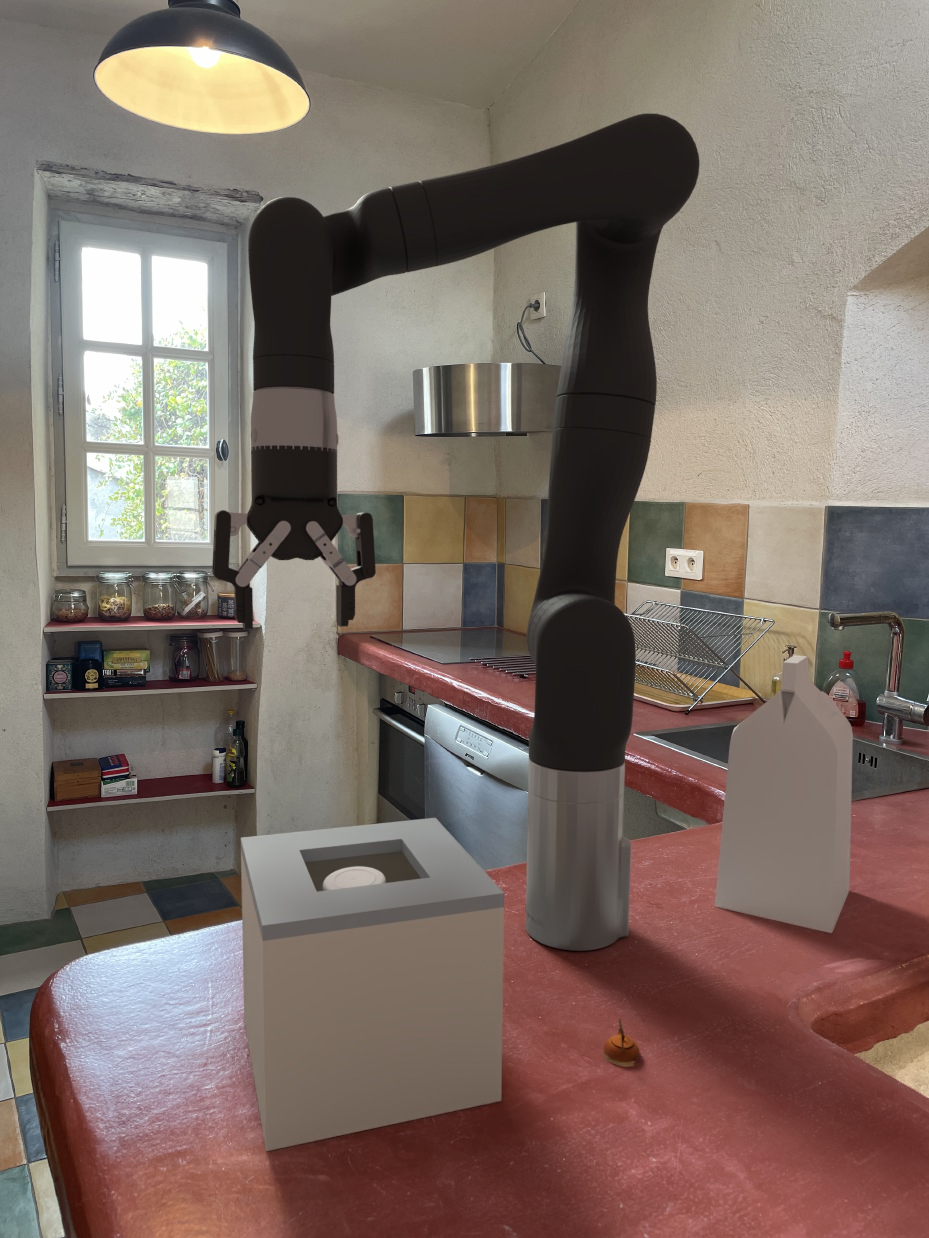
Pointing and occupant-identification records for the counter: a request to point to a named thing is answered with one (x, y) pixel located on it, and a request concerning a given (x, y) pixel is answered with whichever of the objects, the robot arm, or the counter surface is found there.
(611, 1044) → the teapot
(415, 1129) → the counter surface
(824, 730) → the milk
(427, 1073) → the hatch box
